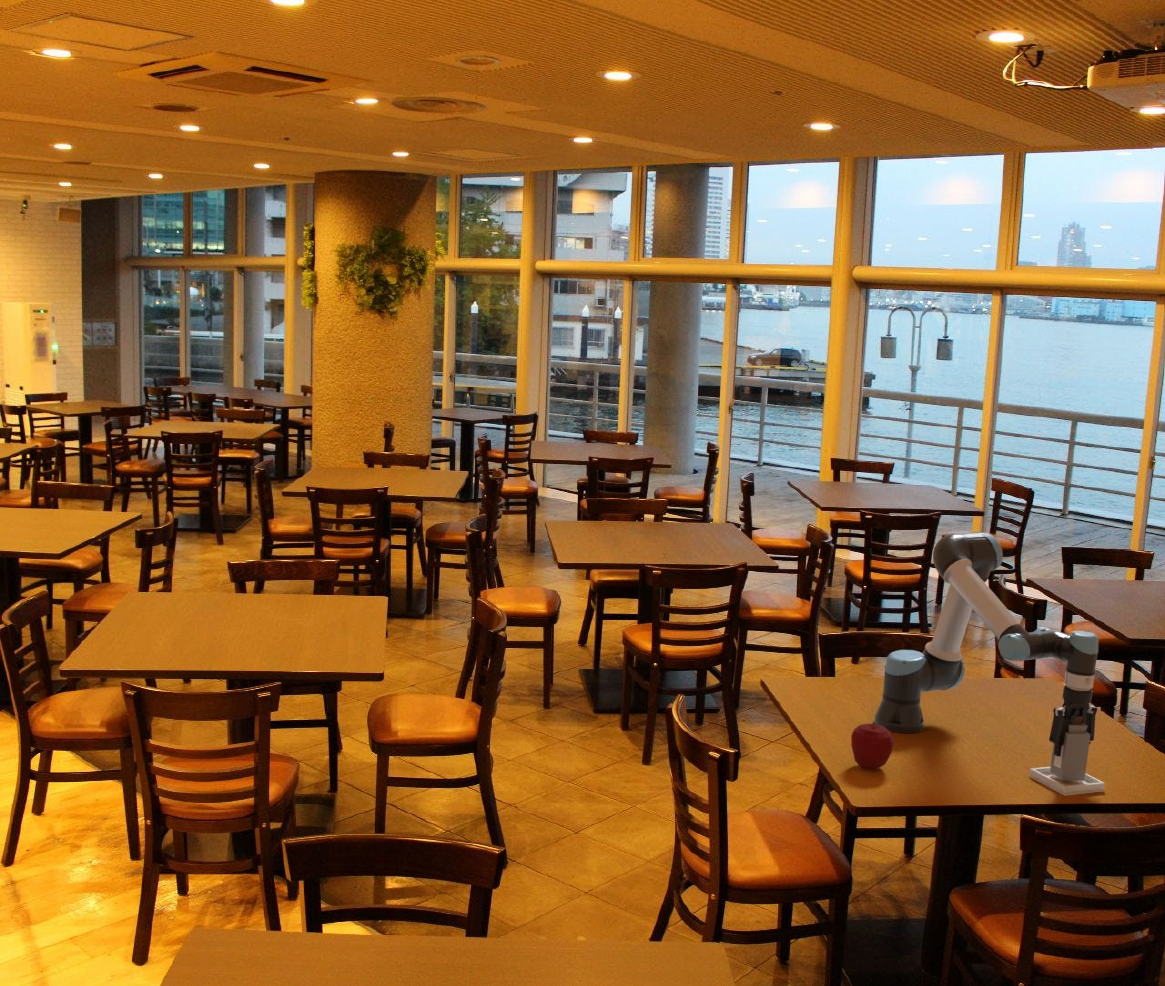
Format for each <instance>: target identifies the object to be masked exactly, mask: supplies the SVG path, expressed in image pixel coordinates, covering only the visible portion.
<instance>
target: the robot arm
mask: <svg viewBox="0 0 1165 986" xmlns="http://www.w3.org/2000/svg"><path fill="white" fill-rule="evenodd" d="M1003 556H1004V555H1003V548H1002V547H1001V543H1000V542H999V540H998V539H997V538H996V537H995V536H994V535H992V534H990V533H986V532H985V533H984V532H983V533H982V532H974V533H951V534H946V535H945V536H942V537H941V538H940V539H939V540H938V542H937V543H936V544H935V546H934V548H933V552H932V560H933V564H934V568H935V569H936V571H937V573H938V575H939V576H940V577H941V579H942V580H943V581H944V582H945V583H946V584H949V586H948V590H947V593H946V595H945V599H944V603H943V605H942V609H941V611H940V615H939V617H938V621H937V625H936V628H935V630H934V634H933V637H932V640H931V641H929V642H927V643H926V644H924V645H925V646H924V649H923V651H922V652H920V651H917V650H914V649H899V650H895V651H892V652H890V653H889V654H888V655H887V656H886V662H885V665H884V674H883V675H884V676H883V678H884V679H883V689H882V698H881V701H880V703H879V705H878V708H877V710H876V712H875V714H874V720H873V721H874V722H873V723H874V724H877V725H881V726H883V727H885V728H886V729H887V730H888V731H889V732H895V733H902V734H914V733H919V732H922V731H923V730H924V727H925V721H924V716H923V712H922V708H921V699H922V698H921V697H922V693H924V692H925V693H927V692H934V691H946V690H949V689H953V688H955V687H957V686H959V685H960V684H961V683H962V681H963V680H964V677H965V673H966V672H965V671H966V667H965V662H964V659H963V655H962V652H961V651H960V648H961V645H962V641H963V638H964V636H965V633H966V630H967V627H968V623H969V620H970V618H971V615H972V611H974V612H975V613H976V615H977V616H978V617H979V619H980V620H981V621H982V622H983V623H984V624H985V626H986V627H987V628H988V629H989V630H990V631H991V632H992V634H993V635H994V636H995V638H996V639H997V640H998V650H999V652H1000V653H999V654H1000V655H1001V657H1002V658H1003V659H1005V660H1006V661H1008V662H1024V661H1029V660H1039V659H1049V658H1054V659H1057V660H1060V661H1063V662H1066V665H1065V666H1066V667H1065V675H1064V681H1063V683H1064V685H1063V689H1062V700H1063V703H1062V705H1061V707H1058V708H1057V707H1054V708H1053V717H1052V718H1053V719H1052V723H1051V727H1050V734H1049V738H1048V741H1049V742H1050V743H1052V744H1055V748H1054V755H1055V759H1054V765H1055V766H1056V767H1058V768H1060V769H1061V764H1062V756H1063V748H1064V746H1063V744H1064V738H1065V732H1068V724H1073V723H1074V720H1075V718H1076V716H1083V720H1082V723H1085V724H1086V725H1087V726H1088V727H1087V729H1086V732H1088V733H1089V734H1090V742H1089V745H1091V743H1092V742H1093V741H1094V740H1095V728H1096V715H1097V712H1098V707H1095V706H1094V705H1092V704H1090V703H1091V702H1092V698H1093V687H1094V681H1095V674H1096V666H1097V665H1096V664H1097V658H1098V654H1099V641H1100V640H1099V637H1098V635H1097V634H1095V633H1093V632H1091V631H1090V632H1089V631H1086V630H1085V631H1084V630H1073V631H1071V633H1070V634H1068V633H1064V632H1062V631H1058V630H1056V629H1054V628H1051V627H1046V626H1040V627H1038V628H1037V629H1035V630H1034V631H1032V632H1028V631H1027V630H1026V629H1025V628H1024V627H1023V626H1022V624H1021V623H1020V622H1019V621H1018V620H1017V618H1016V617H1015V616H1013V614H1012V613H1011V611H1010V610H1008V608H1007V606H1005V605H1004V604H1003V602H1002V601H1001V600H1000V599H999V597H998V596H997V595H996V594H995V593H994V592H993V590H992V589H991V588H990V587H989V586H988V585H987V584H986V582H987V581H988V579H989V577H990V573H991V572H993V571H996V569H997V570H998V568H1000V566H1001V565H1002V563H1003ZM1067 718H1068V719H1067ZM1069 719H1070V720H1069ZM1059 739H1060V741H1059Z"/></svg>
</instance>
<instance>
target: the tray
mask: <svg viewBox="0 0 1165 986" xmlns="http://www.w3.org/2000/svg"><path fill="white" fill-rule="evenodd" d="M1050 768H1051V766H1042V767H1033V768H1030V769H1029V778H1031V779H1032V780H1035V781H1036V782H1038V783H1041V784H1042V785H1043V786H1046V787H1048V788H1049V789H1051V790H1054V791H1055V792H1057V793H1058V794H1061V795H1063V796H1074V795H1081V794H1083V795H1084V794H1091V793H1093V794H1094V793H1101V792H1105V787H1106V783H1105V782H1103V781H1102V780H1099V779H1098V778H1096V777H1093V776H1092V775H1090V774H1088V773H1087V772H1086V773H1085V781H1075V780H1061V779H1059V778H1058V777H1057V776H1056V775H1054V774H1053V773H1052V772H1051V771H1050Z"/></svg>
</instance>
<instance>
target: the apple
mask: <svg viewBox="0 0 1165 986" xmlns="http://www.w3.org/2000/svg"><path fill="white" fill-rule="evenodd" d="M892 735H893V734H892V732H891V731H889V730H887V729H886V728H885V727H883V726H881V725H877V724H875V723H874V722H873V723H861V724H859V725H858V726H856V727H855V728H854V729H853V731H852V733H851V735H850V736H851V740H850V741H851V745H850V746H851V749H852V754H853V759H854V762H855V763H856V764H857V765H858V766H859V767H860V768H861V769H862V770H865V771H875V770H878V769H880V768H882V767H883V766H885V765H886V764H887V762H888V760H889V758H890V756H891V755H892V753H893V752H892V751H893V747H894V739H893V736H892Z"/></svg>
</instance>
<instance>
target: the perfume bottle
mask: <svg viewBox="0 0 1165 986" xmlns="http://www.w3.org/2000/svg"><path fill="white" fill-rule="evenodd" d="M1067 719H1068V718H1067ZM1069 720H1070V719H1069ZM1082 720H1083V716H1076V718H1075V720H1074V723H1073V724H1068V732H1065V738H1064V744H1063V746H1064V748H1063V756H1062V764H1061V769H1060V768H1058V767H1056V766H1055V765H1054V759H1055V755H1054V748H1055V744H1054V743H1052V744H1053V746H1052V753H1051V759H1050V767H1051V768H1050V771H1051V772H1052V773H1053V774H1054V775H1056V776H1057V777H1058V778H1059V779H1061V780H1075V781H1085V773H1086V774H1087V772H1086V771H1087V765H1088V764H1087V763H1088V756H1089V750H1090V749H1089V748H1090V744H1089V742H1091V741H1090V734H1089V733H1088V732H1086V729H1087V727H1088V726H1087V725H1086V724H1085V723H1082ZM1059 741H1060V739H1059Z"/></svg>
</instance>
